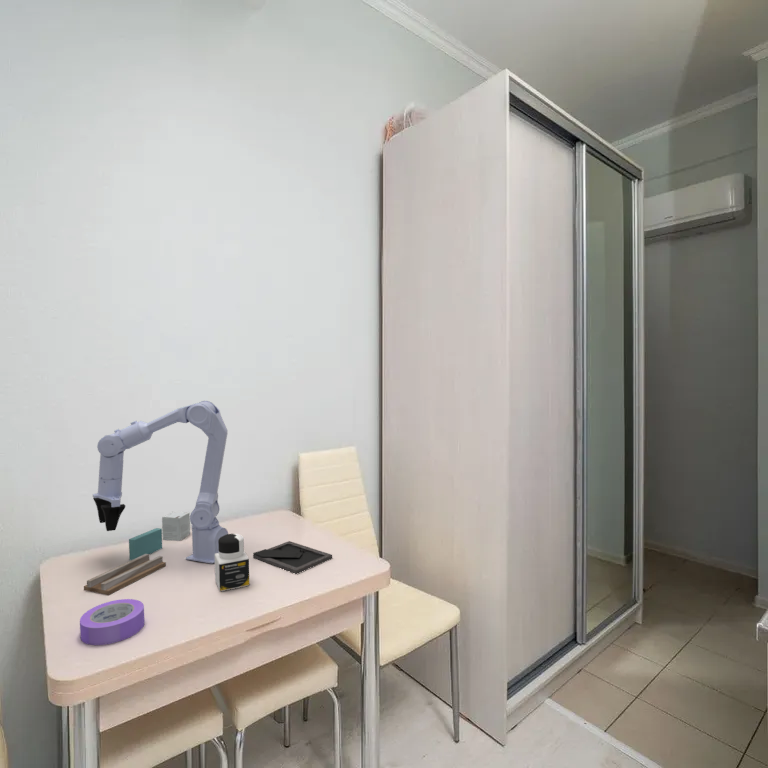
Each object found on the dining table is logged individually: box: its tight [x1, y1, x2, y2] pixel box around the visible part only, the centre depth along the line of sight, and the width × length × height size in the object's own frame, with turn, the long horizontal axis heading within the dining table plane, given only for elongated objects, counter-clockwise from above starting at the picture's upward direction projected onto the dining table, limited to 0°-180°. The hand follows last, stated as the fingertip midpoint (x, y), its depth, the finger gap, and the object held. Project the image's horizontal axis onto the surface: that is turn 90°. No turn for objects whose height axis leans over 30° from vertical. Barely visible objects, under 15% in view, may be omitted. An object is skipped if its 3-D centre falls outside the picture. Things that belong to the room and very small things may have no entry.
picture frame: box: [252, 540, 333, 575], centre depth 140 cm, size 13×2×18 cm
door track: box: [83, 554, 167, 596], centre depth 128 cm, size 8×18×2 cm, turn 160°
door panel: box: [128, 527, 163, 561], centre depth 144 cm, size 2×10×6 cm, turn 160°
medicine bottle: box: [214, 533, 250, 592], centre depth 124 cm, size 7×7×12 cm
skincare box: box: [161, 511, 191, 542], centre depth 158 cm, size 6×6×7 cm
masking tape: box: [79, 598, 146, 646], centre depth 103 cm, size 12×12×4 cm
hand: (107, 526), depth 137 cm, fingers open, 7 cm apart
